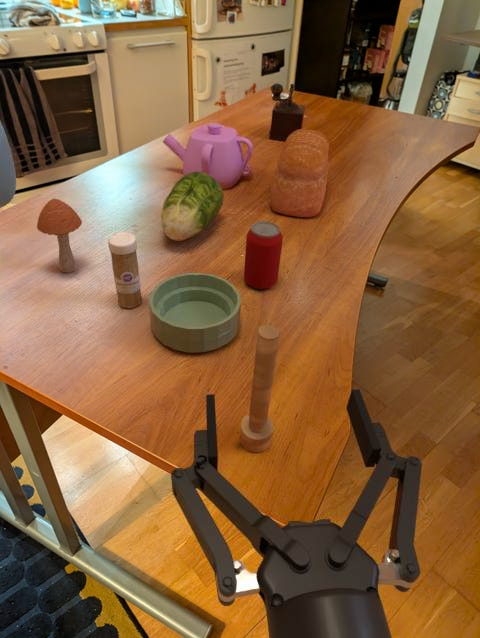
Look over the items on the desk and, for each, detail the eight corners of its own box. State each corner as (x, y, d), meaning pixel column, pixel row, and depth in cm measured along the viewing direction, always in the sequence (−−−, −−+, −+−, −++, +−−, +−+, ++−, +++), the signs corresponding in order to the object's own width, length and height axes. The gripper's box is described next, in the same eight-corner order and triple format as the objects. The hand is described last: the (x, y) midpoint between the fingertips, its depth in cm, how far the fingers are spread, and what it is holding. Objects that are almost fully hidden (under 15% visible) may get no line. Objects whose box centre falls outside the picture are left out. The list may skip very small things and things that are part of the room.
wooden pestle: (241, 453, 62) (251, 345, 49) (238, 426, 65) (247, 318, 52) (273, 451, 62) (291, 344, 49) (269, 425, 65) (285, 318, 52)
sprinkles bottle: (122, 312, 83) (113, 247, 74) (114, 298, 86) (103, 234, 77) (146, 304, 85) (140, 241, 76) (137, 291, 88) (129, 228, 79)
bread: (266, 214, 114) (271, 153, 104) (280, 173, 134) (286, 119, 124) (320, 222, 112) (331, 161, 102) (327, 179, 132) (337, 125, 122)
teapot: (259, 184, 127) (263, 130, 118) (191, 197, 119) (190, 141, 109) (226, 159, 140) (227, 109, 130) (162, 170, 131) (158, 118, 122)
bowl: (149, 357, 74) (146, 329, 71) (154, 299, 86) (152, 272, 82) (242, 355, 76) (244, 327, 72) (235, 298, 87) (236, 272, 84)
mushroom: (79, 253, 96) (65, 185, 87) (97, 271, 92) (84, 201, 82) (42, 265, 92) (23, 196, 83) (58, 284, 88) (40, 213, 78)
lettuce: (148, 249, 99) (144, 200, 92) (181, 207, 114) (180, 163, 107) (199, 258, 97) (199, 210, 90) (226, 215, 113) (227, 170, 105)
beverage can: (282, 279, 93) (290, 226, 85) (267, 295, 89) (273, 241, 81) (253, 268, 96) (258, 216, 88) (237, 284, 91) (240, 230, 83)
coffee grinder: (271, 129, 163) (276, 73, 151) (302, 132, 162) (309, 76, 150) (264, 144, 151) (269, 84, 140) (298, 148, 150) (306, 88, 138)
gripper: (130, 715, 28) (151, 431, 45) (509, 678, 31) (399, 420, 47) (114, 685, 24) (144, 378, 40) (565, 643, 26) (421, 369, 42)
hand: (282, 400), depth 43 cm, fingers open, 13 cm apart
